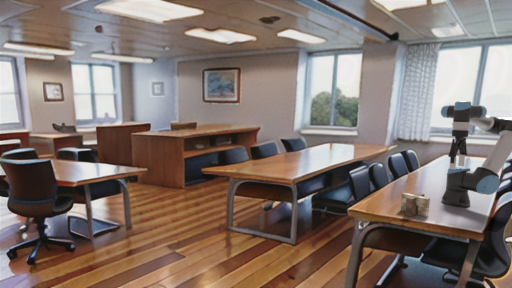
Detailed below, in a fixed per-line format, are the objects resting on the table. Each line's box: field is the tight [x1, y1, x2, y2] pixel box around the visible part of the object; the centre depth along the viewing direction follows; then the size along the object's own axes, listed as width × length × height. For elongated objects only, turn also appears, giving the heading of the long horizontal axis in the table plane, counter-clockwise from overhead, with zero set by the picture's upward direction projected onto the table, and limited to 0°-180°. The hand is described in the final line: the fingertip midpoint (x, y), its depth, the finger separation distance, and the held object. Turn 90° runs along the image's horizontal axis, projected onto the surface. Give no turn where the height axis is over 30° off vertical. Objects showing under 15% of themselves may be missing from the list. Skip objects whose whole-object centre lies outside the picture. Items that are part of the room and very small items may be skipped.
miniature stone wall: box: [404, 192, 425, 217], centre depth 171 cm, size 16×3×10 cm, turn 129°
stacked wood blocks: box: [400, 192, 431, 218], centre depth 171 cm, size 14×3×10 cm, turn 39°
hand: (456, 167), depth 168 cm, fingers open, 13 cm apart
